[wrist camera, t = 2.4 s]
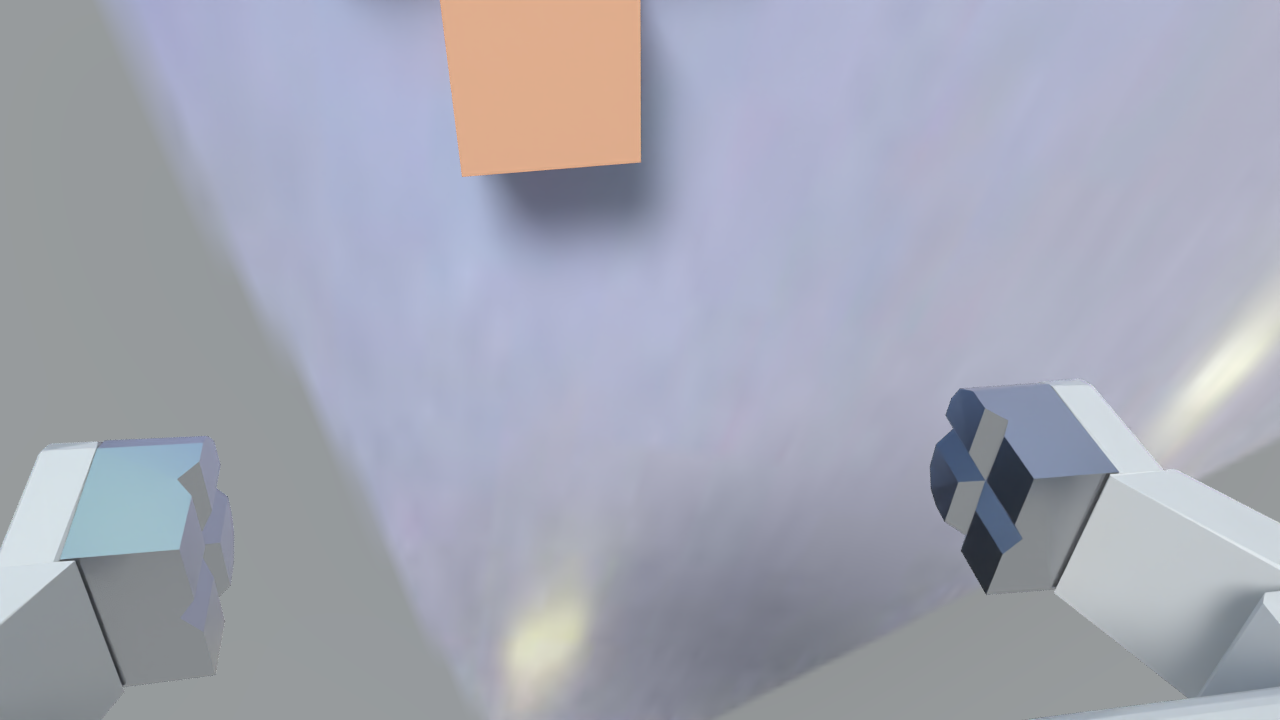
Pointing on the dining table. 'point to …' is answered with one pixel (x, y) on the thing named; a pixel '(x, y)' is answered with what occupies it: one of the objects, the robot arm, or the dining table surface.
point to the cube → (544, 83)
